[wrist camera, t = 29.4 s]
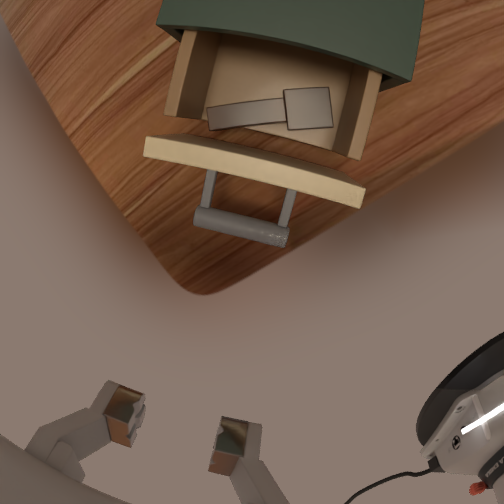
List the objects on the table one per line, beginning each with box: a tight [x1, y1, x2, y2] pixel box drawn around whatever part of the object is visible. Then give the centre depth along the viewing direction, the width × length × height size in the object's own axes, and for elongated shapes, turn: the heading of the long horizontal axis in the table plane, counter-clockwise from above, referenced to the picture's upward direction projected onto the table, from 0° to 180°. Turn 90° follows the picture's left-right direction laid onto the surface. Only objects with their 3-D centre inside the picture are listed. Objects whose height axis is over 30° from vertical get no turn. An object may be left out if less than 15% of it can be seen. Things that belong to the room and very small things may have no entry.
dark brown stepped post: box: [206, 87, 334, 131], centre depth 19 cm, size 8×3×2 cm, turn 97°
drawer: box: [143, 29, 383, 248], centre depth 18 cm, size 17×12×7 cm
